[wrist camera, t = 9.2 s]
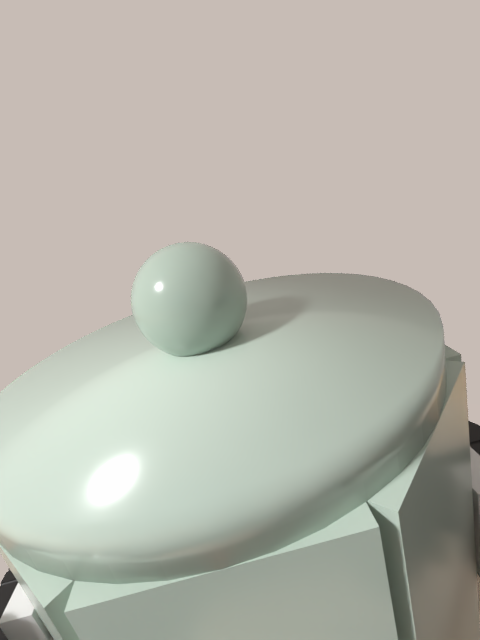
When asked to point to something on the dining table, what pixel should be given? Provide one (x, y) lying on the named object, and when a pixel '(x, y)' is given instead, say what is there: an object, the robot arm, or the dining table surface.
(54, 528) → the lidded canister jar
